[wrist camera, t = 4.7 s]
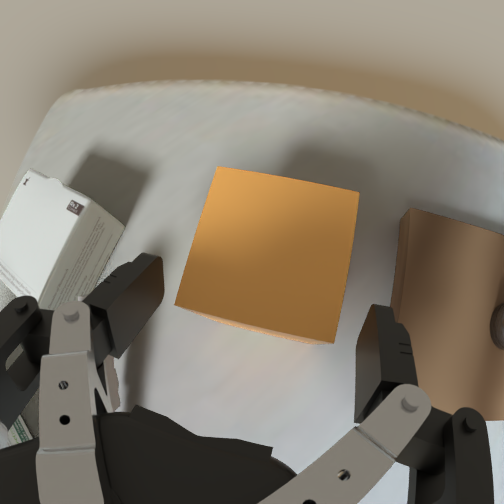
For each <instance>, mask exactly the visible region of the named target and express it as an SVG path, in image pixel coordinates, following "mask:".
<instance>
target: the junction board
mask: <svg viewBox="0 0 504 504" xmlns="http://www.w3.org/2000/svg"><path fill="white" fill-rule="evenodd" d="M501 303H504V235H502V234H499V233H496V232H493V231H490V230H487V229H483V228H480V227H477V226H474V225H471V224H467V223H464V222H461V221H457V220H454V219H450V218H447V217H444V216H440V215H436V214H433V213H429V212H426V211H422V210H418V209H414V208H411V207H410V209H409V210H408V211H407V212H406V214H405V215H404V216H403V217H402V218H401V220H400V229H399V241H398V251H397V260H396V268H395V276H394V284H393V291H392V297H391V304H390V307H392V308H393V312H394V318H395V322H397V323H402V324H403V325H404V327H405V328H406V330H407V331H408V333H409V335H410V340H411V347H412V350H413V356H414V361H415V367H416V373H417V379H418V386H419V388H421V389H422V390H423V391H425V393H426V394H427V395H428V397H429V399H430V401H431V406H433V407H434V408H437V409H439V410H442V411H444V412H447V413H449V414H452V415H453V414H454V413H455V412H456V411H457V410H458V409H460V408H462V407H470V408H473V409H475V410H476V411H478V412H479V413H480V414H481V415H482V416H483V418H484V420H485V421H497V420H504V350H501V349H499V348H497V347H496V346H495V344H494V343H493V341H492V339H491V335H490V320H491V316H492V314H493V311H494V310H495V308H496V307H497V306H498V305H500V304H501Z"/></svg>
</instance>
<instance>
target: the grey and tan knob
mask: <svg viewBox="0 0 504 504" xmlns="http://www.w3.org/2000/svg"><path fill="white" fill-rule="evenodd" d="M490 335H491V339H492V341H493V343H494V344H495V346H496V347H497V348H499V349H501V350H504V303H501V304H500V305H498V306H497V307H496V308H495V310H494V311H493V314H492V316H491V320H490Z"/></svg>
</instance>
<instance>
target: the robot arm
mask: <svg viewBox="0 0 504 504" xmlns="http://www.w3.org/2000/svg"><path fill="white" fill-rule="evenodd" d="M163 296H164V276H163V261H162V258H161V257H160V256H156V255H151V254H147V253H141V254H140V255H139V256H138V257H137V258H136V259H135V260H134V261H132V262H127V263H125V264H123V265H121V266H119V267H117V268H116V269H115V270H114V271H113V272H112V273H111V274H110V276H108V277H107V278H106V279H104V282H101V283H100V284H99V285H98V286H97V287H96V288H95V289H94V290H93V291H92V292H91V293H90V294H89V295H88V296H87V297H86V298H85V299H84V300H83V301H82V302H81V301H69V302H66V303H63V304H61V305H60V306H59V307H57V308H56V310H47V309H40V308H39V305H38V302H37V300H36V298H34V297H33V296H28V295H25V296H20V297H17V298H15V299H14V300H12V301H11V302H10V303H9V304H8V305H7V306H6V307H5V308H4V309H3V310H2V311H1V312H0V504H357V503H358V502H359V501H360V500H361V499H362V498H363V497H364V496H365V495H366V494H367V493H368V492H369V491H370V490H371V489H372V488H373V487H374V486H375V485H376V483H377V482H378V481H379V480H380V479H381V478H382V477H383V476H384V474H385V473H386V472H387V471H388V470H389V469H390V468H391V466H392V465H393V464H394V463H395V462H398V463H401V464H403V465H406V466H409V467H410V472H409V489H408V501H407V504H494V488H493V474H492V463H491V454H490V446H489V439H488V433H487V426H486V422H485V420H484V418H483V416H482V415H481V414H480V413H479V412H478V411H476V410H475V409H473V408H470V407H462V408H460V409H458V410H457V411H456V412H455V413H454V414H453V415H452V414H449V413H447V412H444V411H442V410H439V409H437V408H434V407H433V406H431V401H430V399H429V397H428V395H427V394H426V393H425V391H423V390H422V389H421V388H419V386H418V379H417V373H416V367H415V361H414V356H413V350H412V347H411V340H410V335H409V333H408V331H407V330H406V328H405V327H404V325H403V324H402V323H397V322H395V318H394V312H393V308H392V307H386V306H381V305H376V304H372V305H371V307H370V309H369V312H368V315H367V317H366V320H365V322H364V324H363V327H362V329H361V332H360V334H359V337H358V340H357V345H356V383H355V414H354V423H360V425H359V426H358V427H356V426H355V427H354V428H353V429H351V430H350V431H349V432H348V433H347V434H346V435H345V436H344V437H343V438H341V439H340V440H339V441H338V442H337V443H336V444H335V445H334V446H332V447H331V448H330V449H329V450H328V451H327V452H325V453H324V454H323V455H322V456H321V457H320V458H318V459H317V460H316V461H315V462H313V463H312V464H311V465H310V466H308V467H307V468H306V469H305V470H303V471H302V472H301V473H300V474H298V475H297V474H296V473H295V472H294V471H293V470H292V469H291V468H290V467H288V466H287V465H286V464H284V463H283V462H281V461H279V460H278V459H276V458H274V457H271V453H272V449H273V447H269V446H264V445H260V444H256V443H251V442H247V441H243V440H239V439H229V438H214V437H202V436H197V435H195V434H193V433H192V432H190V431H188V430H187V429H185V428H183V427H182V426H180V425H179V424H177V423H176V422H174V421H172V420H171V419H169V418H168V417H166V416H163V415H161V414H158V413H156V412H153V411H150V410H148V409H145V408H143V407H140V406H138V405H135V407H134V409H133V410H132V412H131V413H129V412H113V409H112V405H111V401H110V394H109V387H108V379H107V371H106V363H105V358H106V357H107V356H108V355H110V356H113V357H115V358H118V359H119V358H120V357H121V356H122V354H123V353H124V351H125V350H126V349H127V347H128V346H129V345H130V343H131V342H132V341H133V339H134V338H135V337H136V335H137V334H138V333H139V331H140V330H141V329H142V327H143V326H144V325H145V323H146V322H147V321H148V319H149V318H150V317H151V315H152V314H153V313H154V312H155V310H156V309H157V308H158V306H159V305H160V304H161V302H162V299H163ZM19 344H21V347H22V349H23V352H22V353H21V355H20V356H19V357H18V358H17V359H16V361H15V362H14V363H13V364H12V365H11V367H10V368H9V369H8V370H7V371H6V367H5V363H6V360H7V358H8V357H9V355H10V354H11V353H12V352H13V351H14V350H15V348H16V347H17V346H18V345H19ZM39 387H40V388H39ZM38 388H39V437H37V438H34V439H31V440H28V441H25V442H21V443H18V444H15V445H12V446H10V445H9V443H8V431H9V430H10V428H11V427H12V425H13V424H14V422H15V421H16V419H17V418H18V416H19V415H20V413H21V412H22V410H23V409H24V408H25V406H26V405H27V403H28V402H29V400H30V399H31V398H32V396H33V395H34V393H35V392H36V391H37V389H38Z"/></svg>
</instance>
